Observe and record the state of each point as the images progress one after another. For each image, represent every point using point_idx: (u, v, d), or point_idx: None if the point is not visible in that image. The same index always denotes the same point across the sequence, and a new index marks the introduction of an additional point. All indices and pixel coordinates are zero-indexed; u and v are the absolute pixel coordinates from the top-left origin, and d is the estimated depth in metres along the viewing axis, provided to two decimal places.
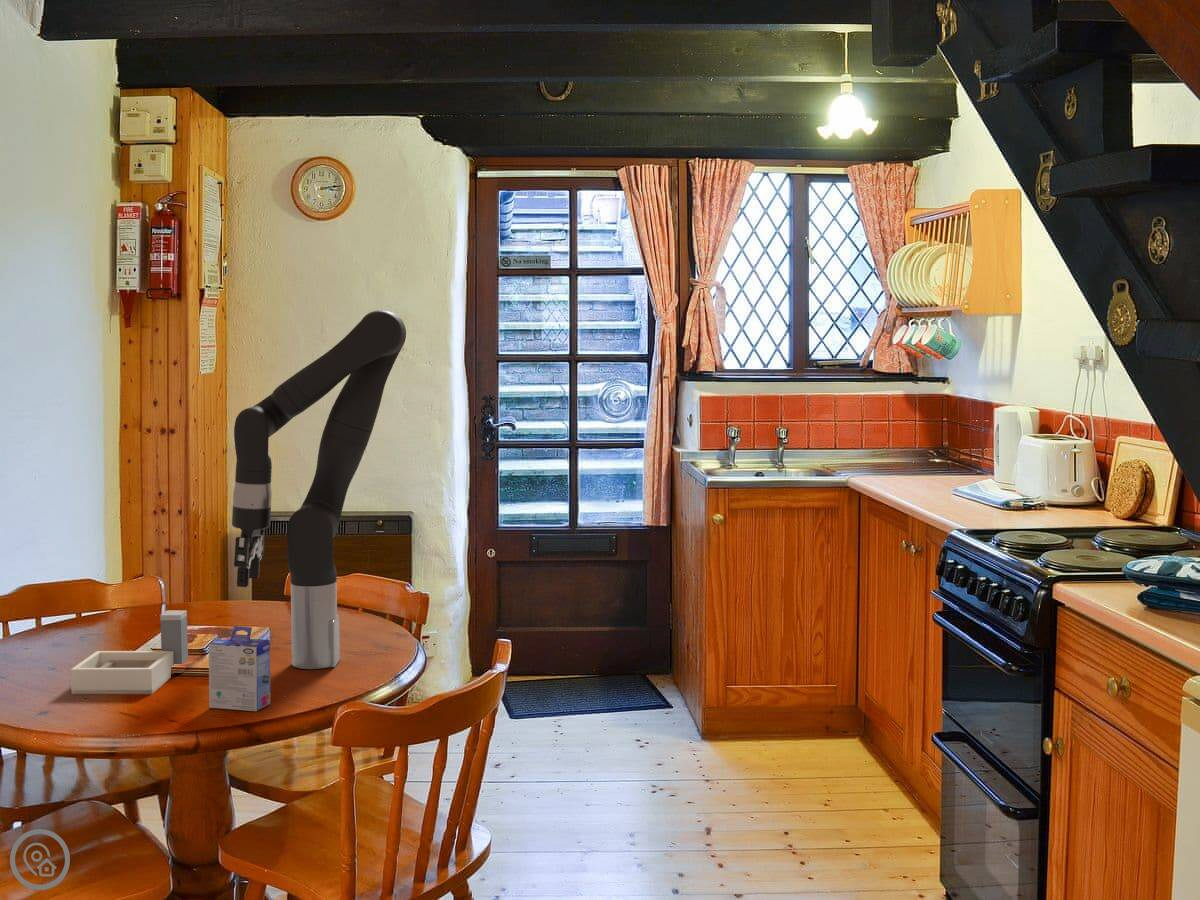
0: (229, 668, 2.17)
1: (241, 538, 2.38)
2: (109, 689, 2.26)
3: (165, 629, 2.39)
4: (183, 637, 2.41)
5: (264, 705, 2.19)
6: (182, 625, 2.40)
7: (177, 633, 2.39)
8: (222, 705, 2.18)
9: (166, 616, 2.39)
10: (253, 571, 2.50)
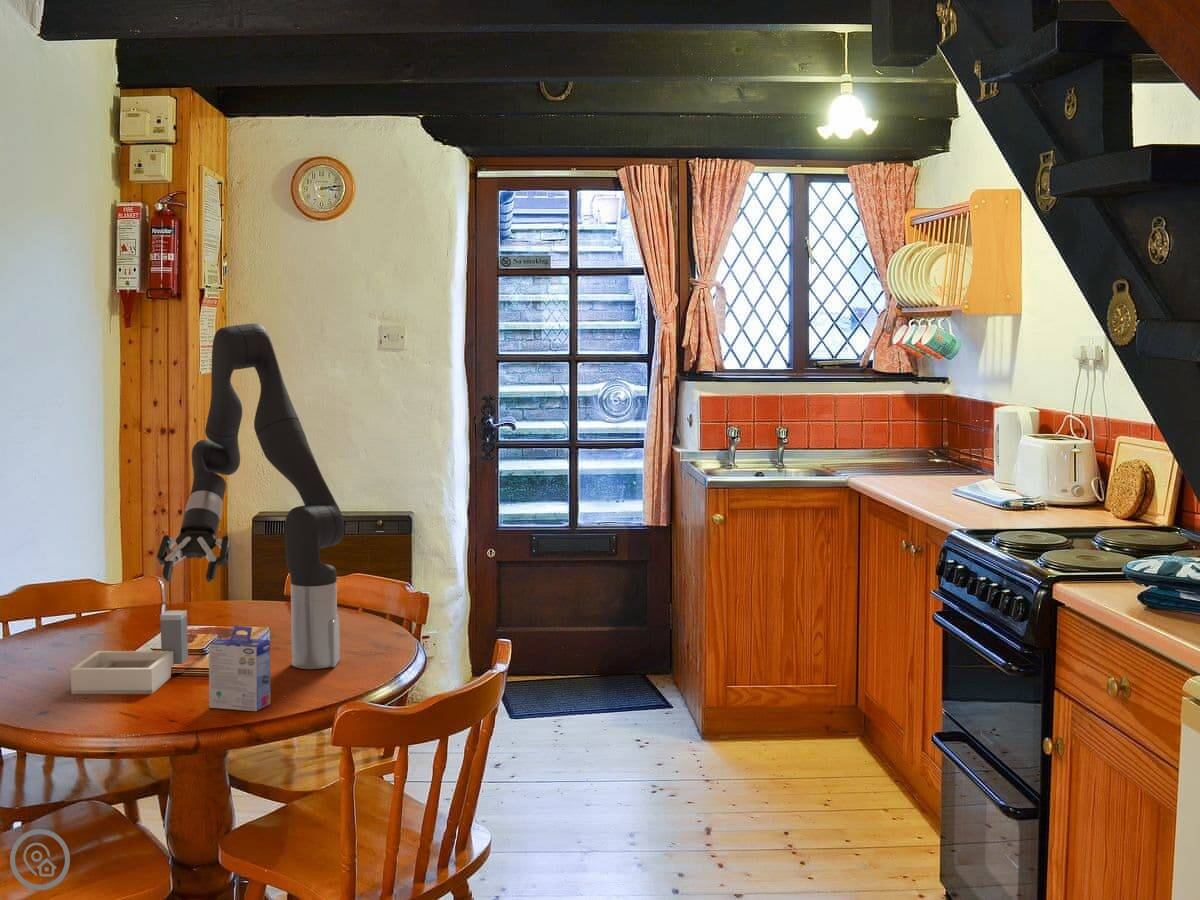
0: (229, 668, 2.17)
1: None
2: (109, 689, 2.26)
3: (165, 629, 2.39)
4: (183, 638, 2.41)
5: (264, 705, 2.19)
6: (182, 625, 2.40)
7: (177, 633, 2.39)
8: (222, 705, 2.18)
9: (166, 616, 2.39)
10: None
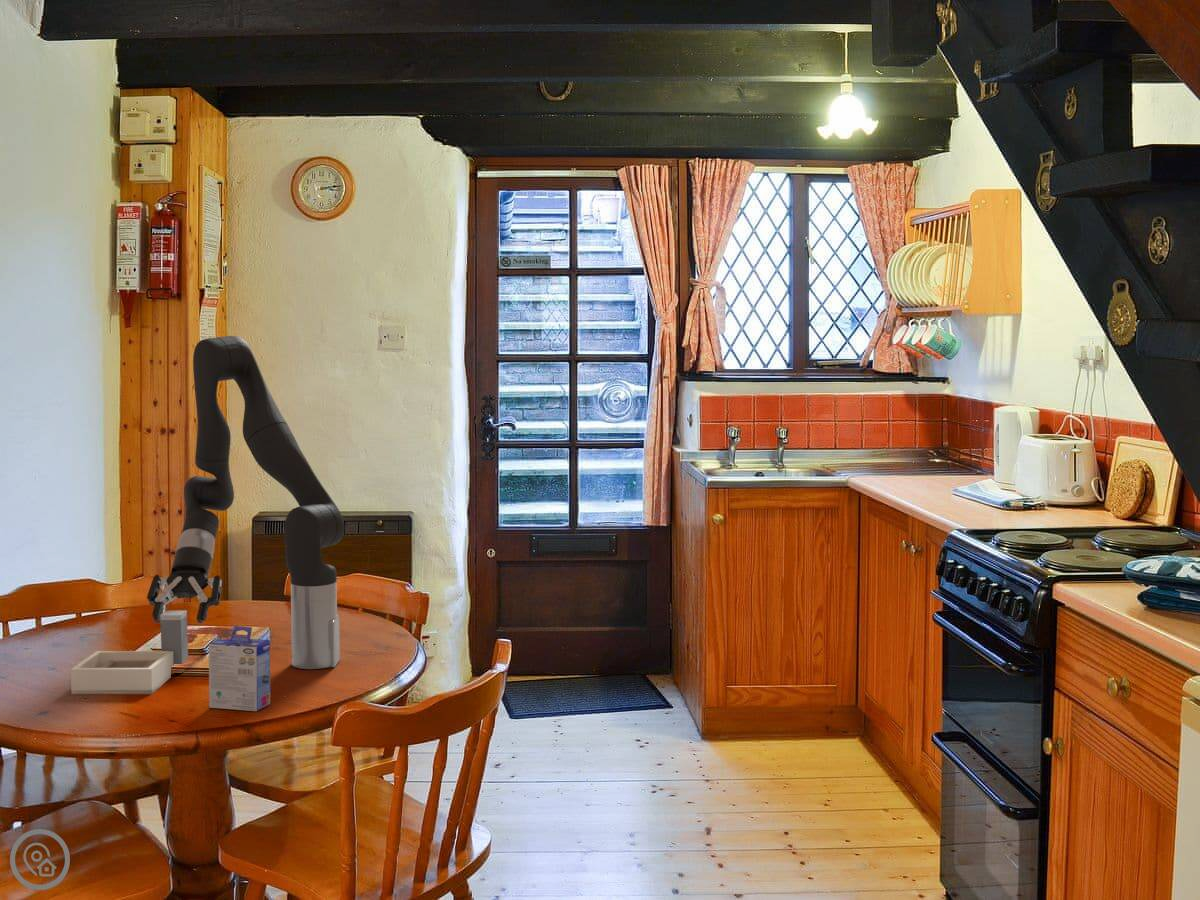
0: (229, 668, 2.17)
1: None
2: (109, 689, 2.26)
3: (165, 629, 2.39)
4: (183, 638, 2.41)
5: (264, 705, 2.19)
6: (182, 625, 2.40)
7: (177, 633, 2.39)
8: (222, 705, 2.18)
9: (166, 616, 2.39)
10: None
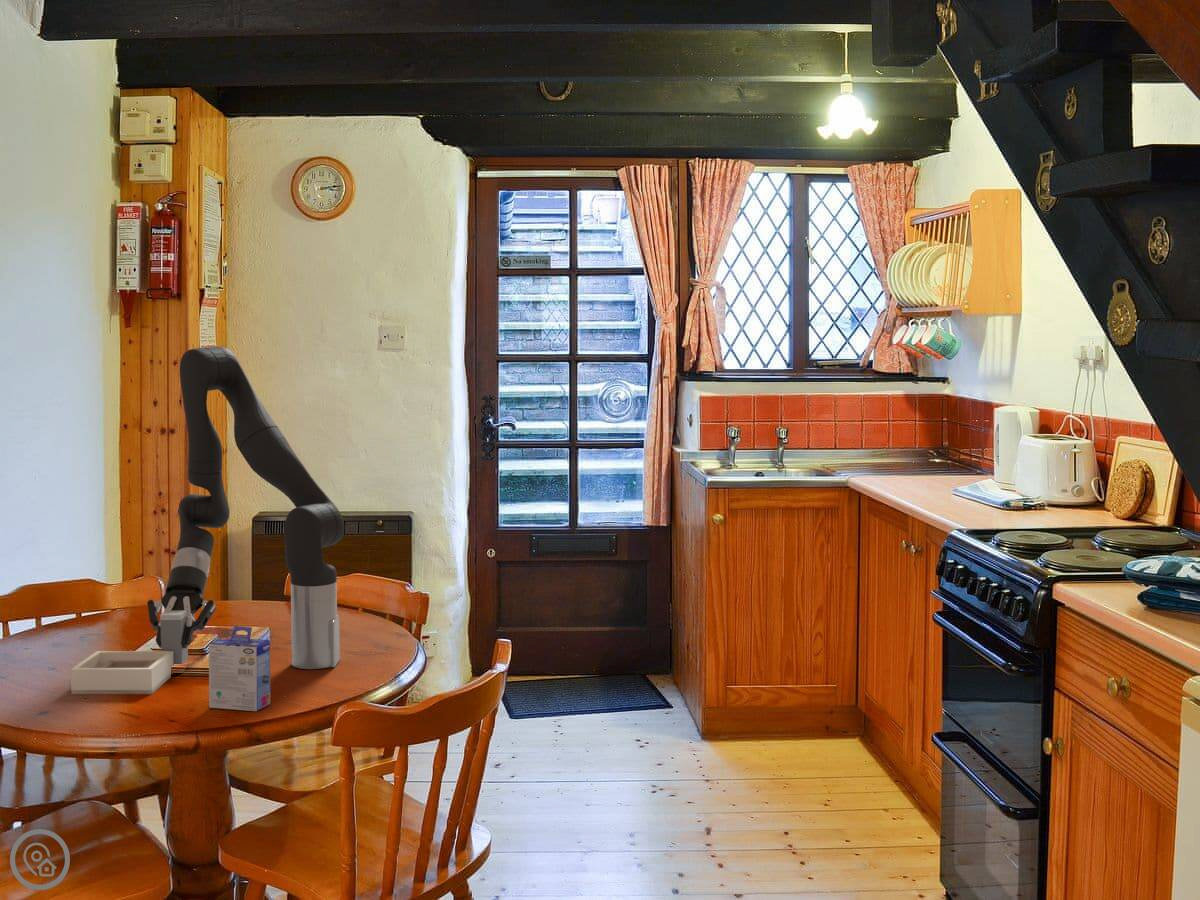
0: (229, 668, 2.17)
1: None
2: (109, 689, 2.26)
3: (165, 629, 2.39)
4: None
5: (264, 705, 2.19)
6: (182, 625, 2.40)
7: (177, 632, 2.39)
8: (222, 705, 2.18)
9: (166, 616, 2.39)
10: None
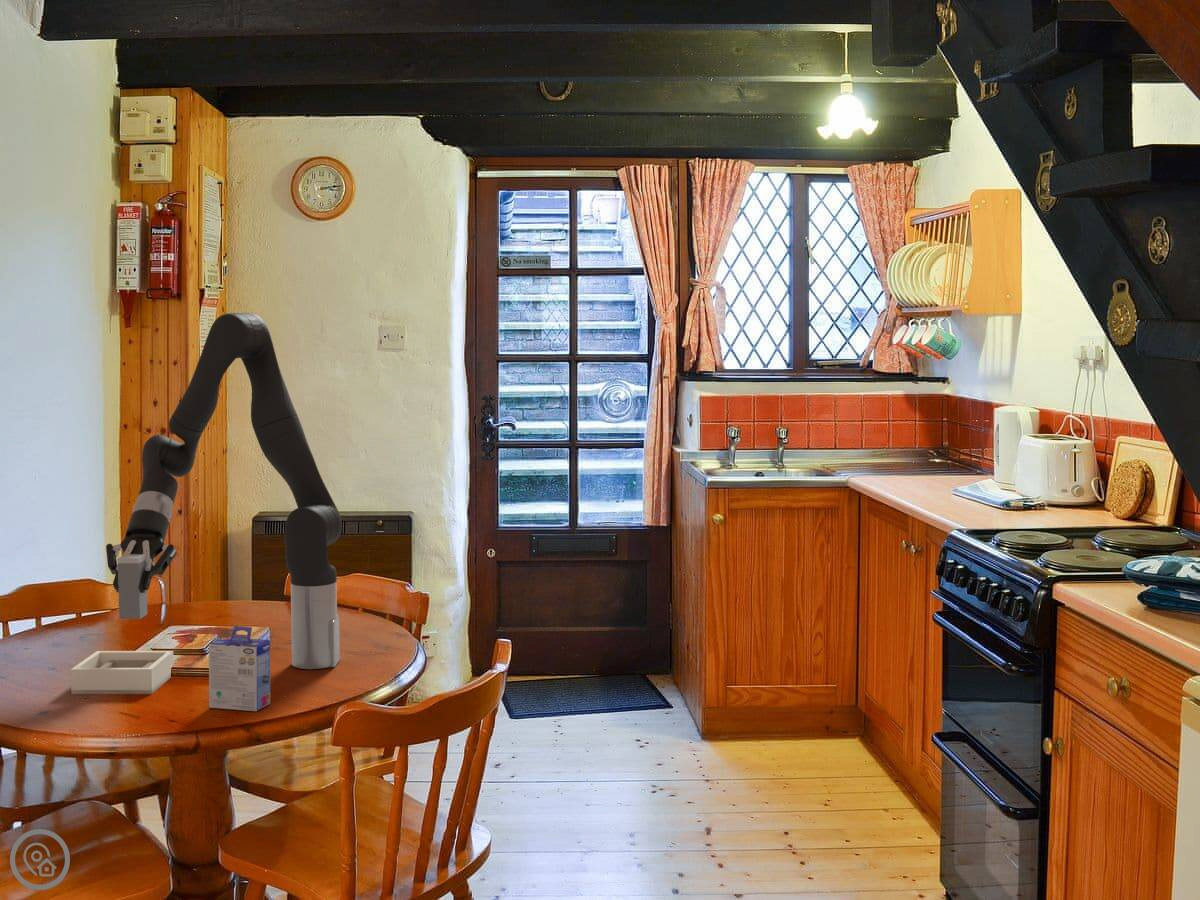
0: (229, 668, 2.17)
1: None
2: (109, 689, 2.26)
3: (122, 572, 2.32)
4: None
5: (264, 705, 2.19)
6: (140, 569, 2.33)
7: (134, 576, 2.32)
8: (222, 705, 2.18)
9: (123, 559, 2.32)
10: None
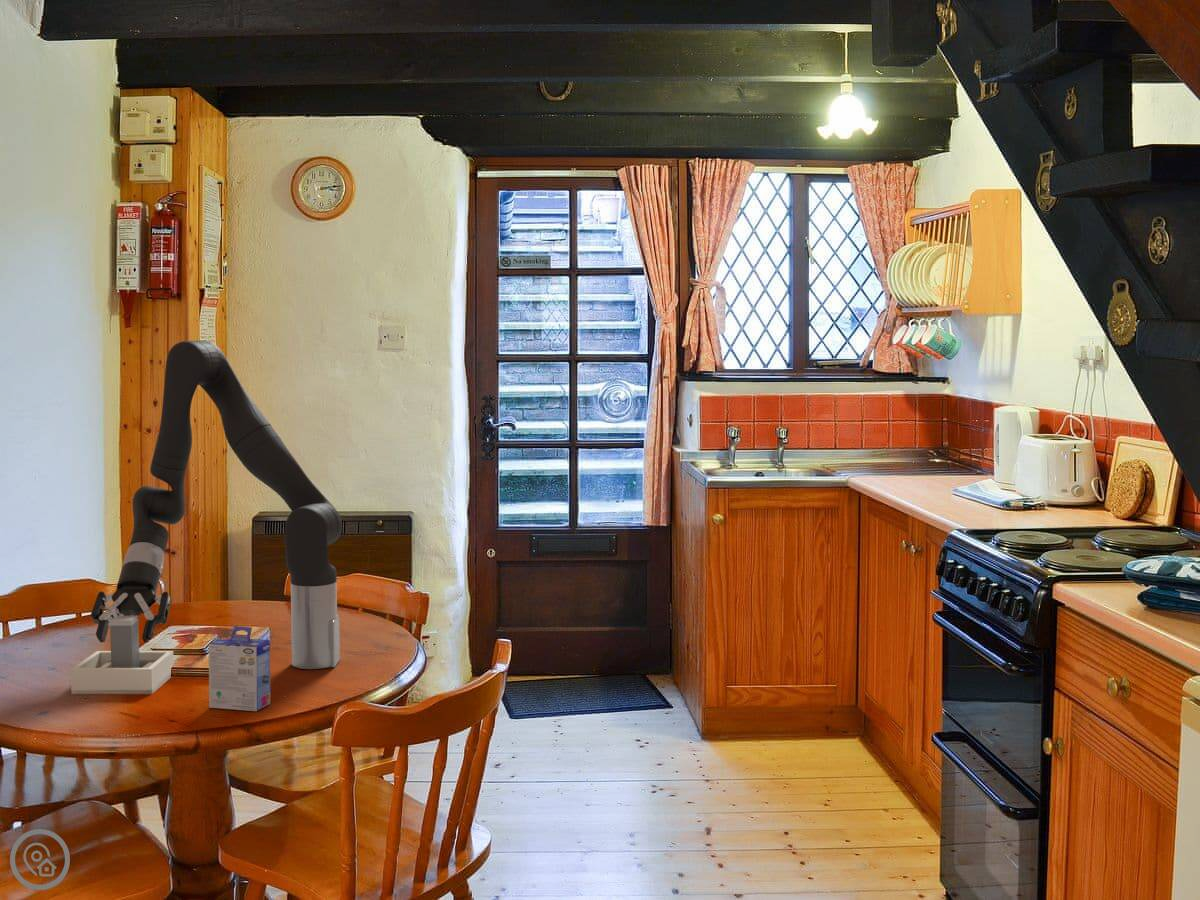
0: (229, 668, 2.17)
1: None
2: (109, 689, 2.26)
3: (115, 634, 2.31)
4: (134, 644, 2.33)
5: (264, 705, 2.19)
6: (133, 631, 2.32)
7: (127, 638, 2.31)
8: (222, 705, 2.18)
9: (116, 621, 2.31)
10: None
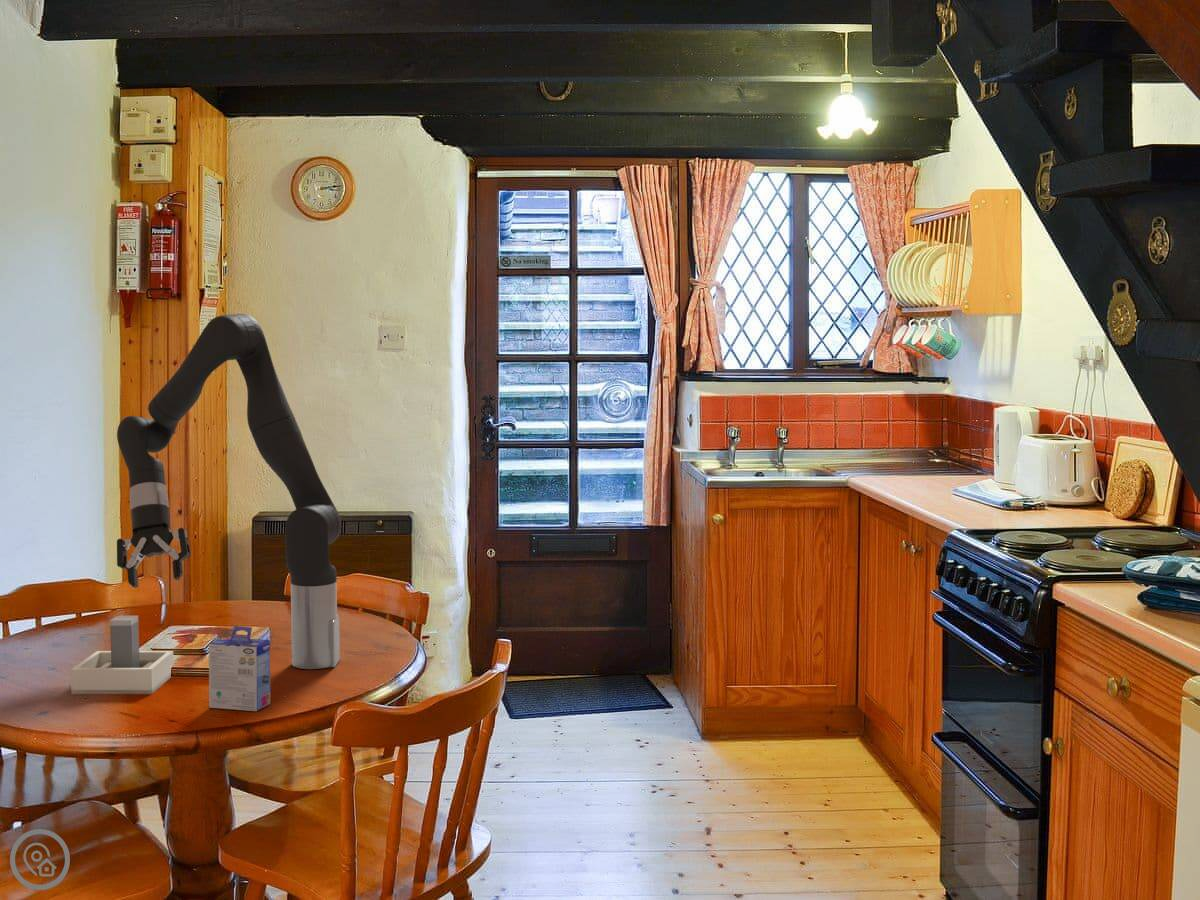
0: (229, 668, 2.17)
1: None
2: (109, 689, 2.26)
3: (115, 634, 2.31)
4: (134, 644, 2.33)
5: (264, 705, 2.19)
6: (133, 631, 2.32)
7: (127, 638, 2.31)
8: (222, 705, 2.18)
9: (116, 621, 2.31)
10: None
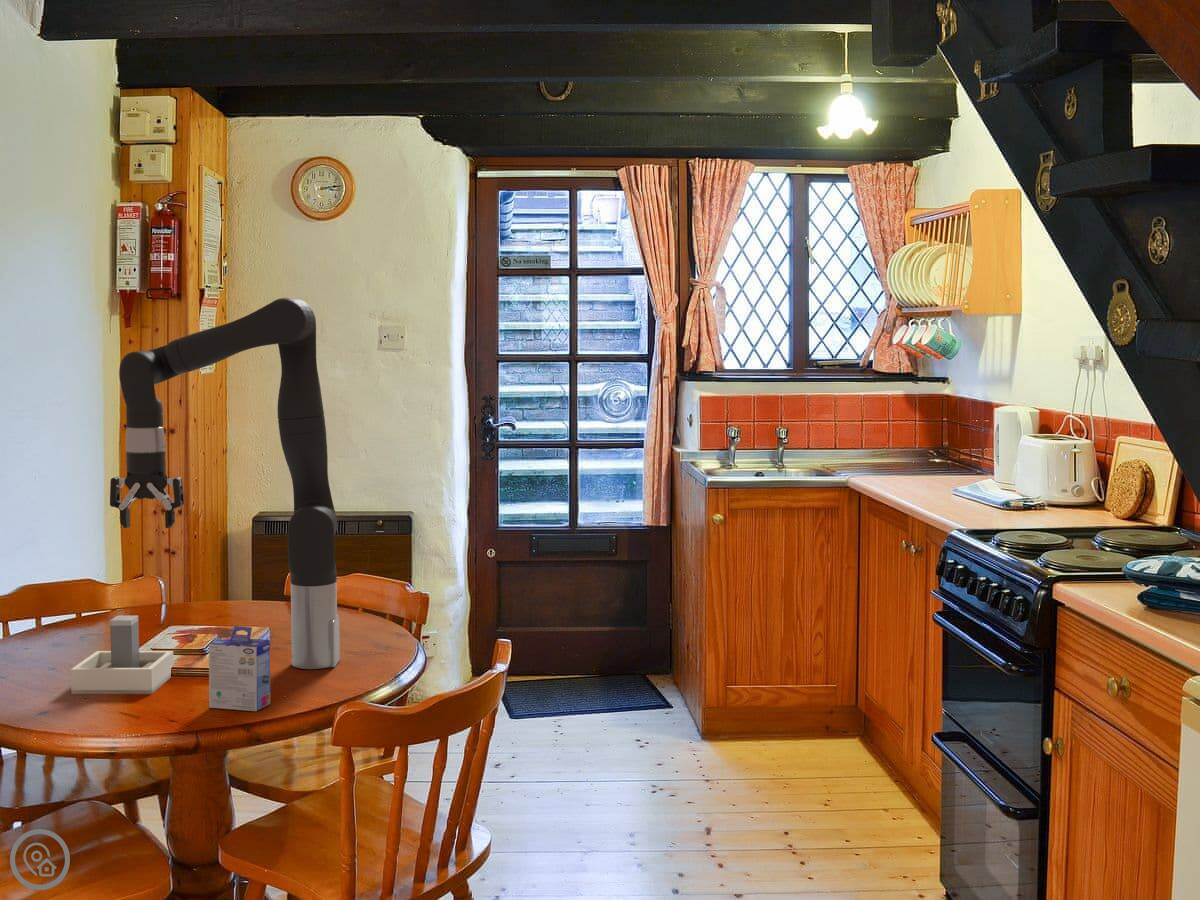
0: (229, 668, 2.17)
1: (114, 478, 2.45)
2: (109, 689, 2.26)
3: (115, 634, 2.31)
4: (134, 644, 2.33)
5: (264, 705, 2.19)
6: (133, 631, 2.32)
7: (127, 638, 2.31)
8: (222, 705, 2.18)
9: (116, 621, 2.31)
10: None
